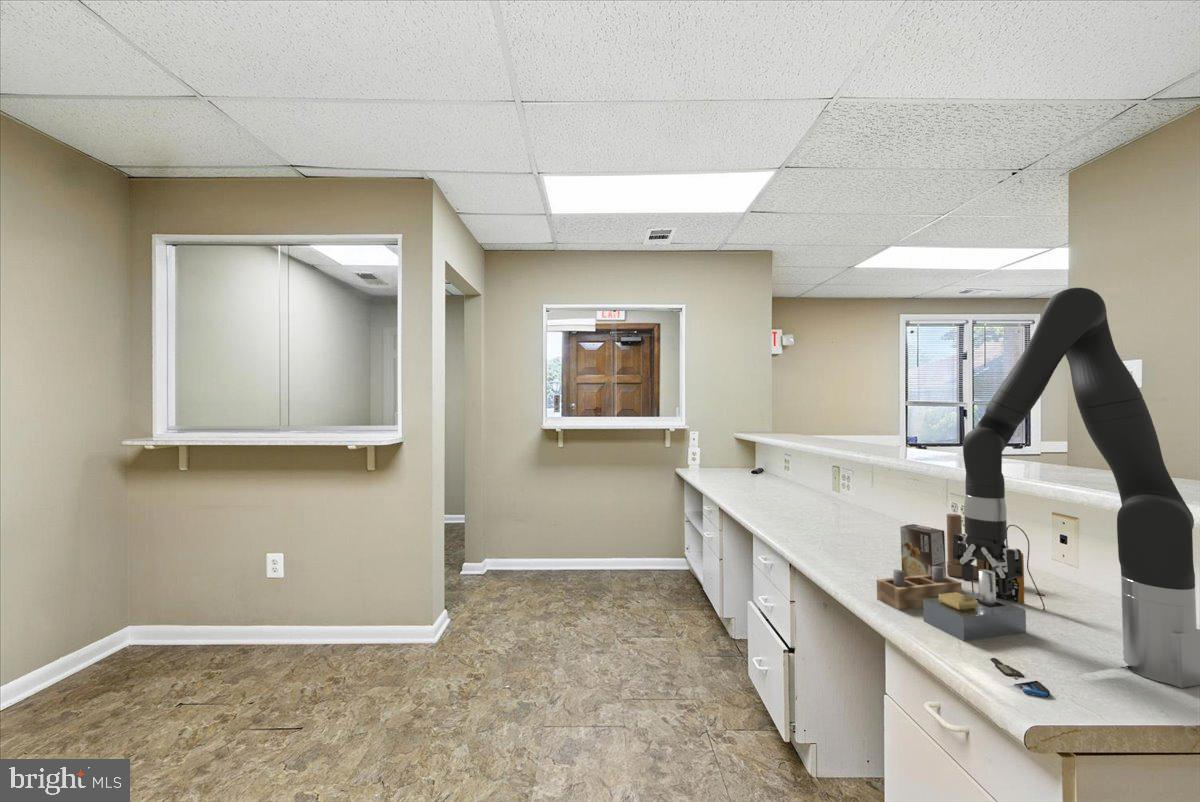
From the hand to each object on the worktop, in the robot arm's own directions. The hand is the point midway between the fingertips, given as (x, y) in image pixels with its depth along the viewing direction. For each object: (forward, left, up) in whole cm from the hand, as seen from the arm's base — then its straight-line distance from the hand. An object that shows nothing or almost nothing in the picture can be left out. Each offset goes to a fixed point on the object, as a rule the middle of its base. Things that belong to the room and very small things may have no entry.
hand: (985, 587), depth 111 cm
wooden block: (+28, -27, -10) cm, 40 cm away
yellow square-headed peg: (0, +8, -8) cm, 11 cm away
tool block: (0, +4, -9) cm, 10 cm away
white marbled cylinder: (0, 0, -8) cm, 8 cm away
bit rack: (+15, +3, -9) cm, 18 cm away
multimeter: (+9, -16, -10) cm, 21 cm away
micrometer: (-17, +14, -10) cm, 25 cm away
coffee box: (+26, -9, -10) cm, 29 cm away
